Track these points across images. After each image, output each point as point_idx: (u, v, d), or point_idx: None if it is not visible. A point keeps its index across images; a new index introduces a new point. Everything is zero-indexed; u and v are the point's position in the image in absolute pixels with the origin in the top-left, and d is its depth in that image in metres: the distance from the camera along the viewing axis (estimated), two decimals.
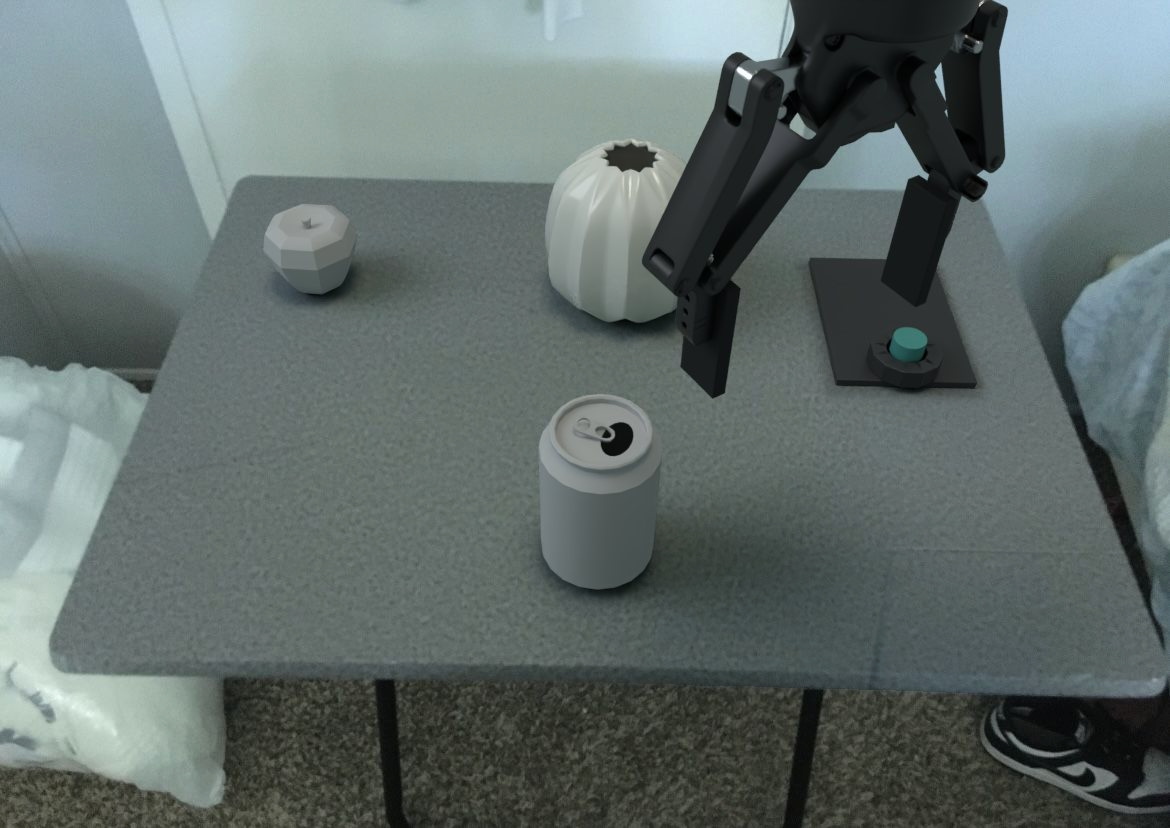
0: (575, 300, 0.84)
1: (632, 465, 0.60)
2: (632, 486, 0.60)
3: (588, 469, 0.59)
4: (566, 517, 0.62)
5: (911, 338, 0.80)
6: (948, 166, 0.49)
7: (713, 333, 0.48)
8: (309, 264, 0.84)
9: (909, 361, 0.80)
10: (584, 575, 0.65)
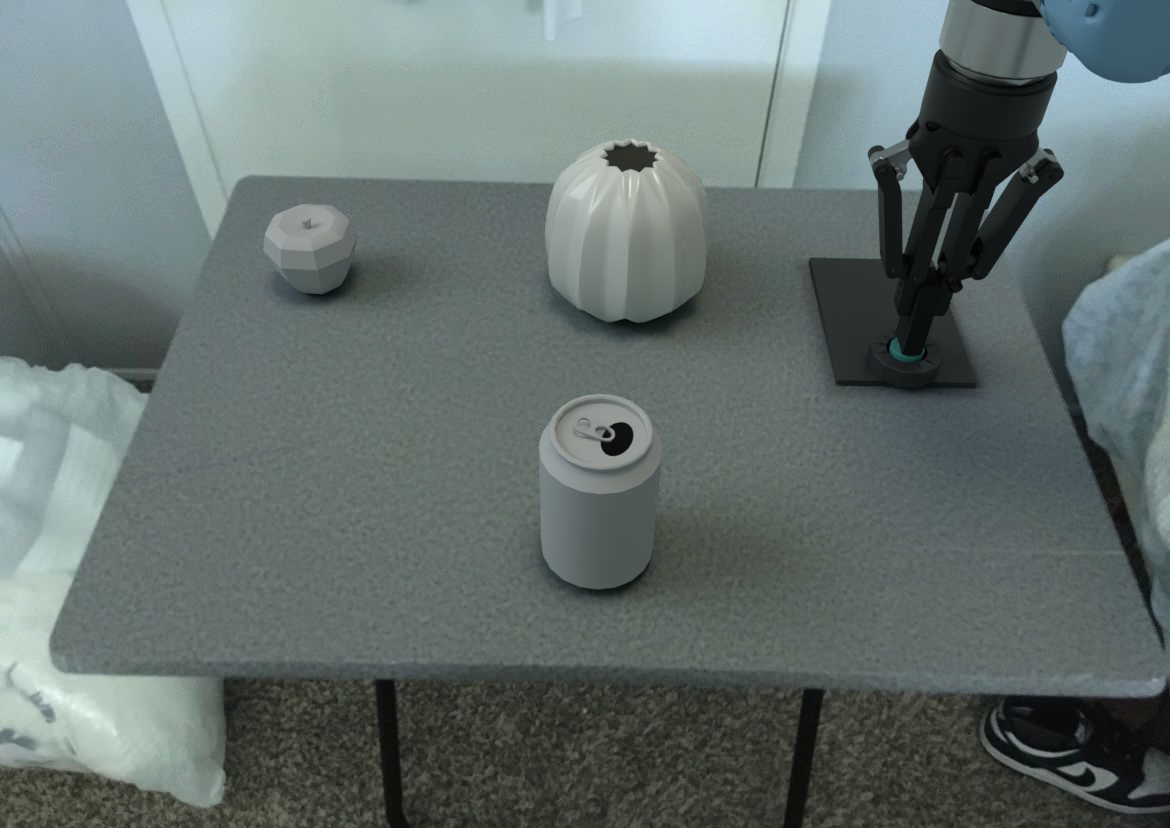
0: (575, 300, 0.84)
1: (632, 465, 0.60)
2: (632, 486, 0.60)
3: (588, 469, 0.59)
4: (566, 517, 0.62)
5: None
6: (955, 253, 0.73)
7: (912, 312, 0.78)
8: (309, 264, 0.84)
9: None
10: (584, 575, 0.65)
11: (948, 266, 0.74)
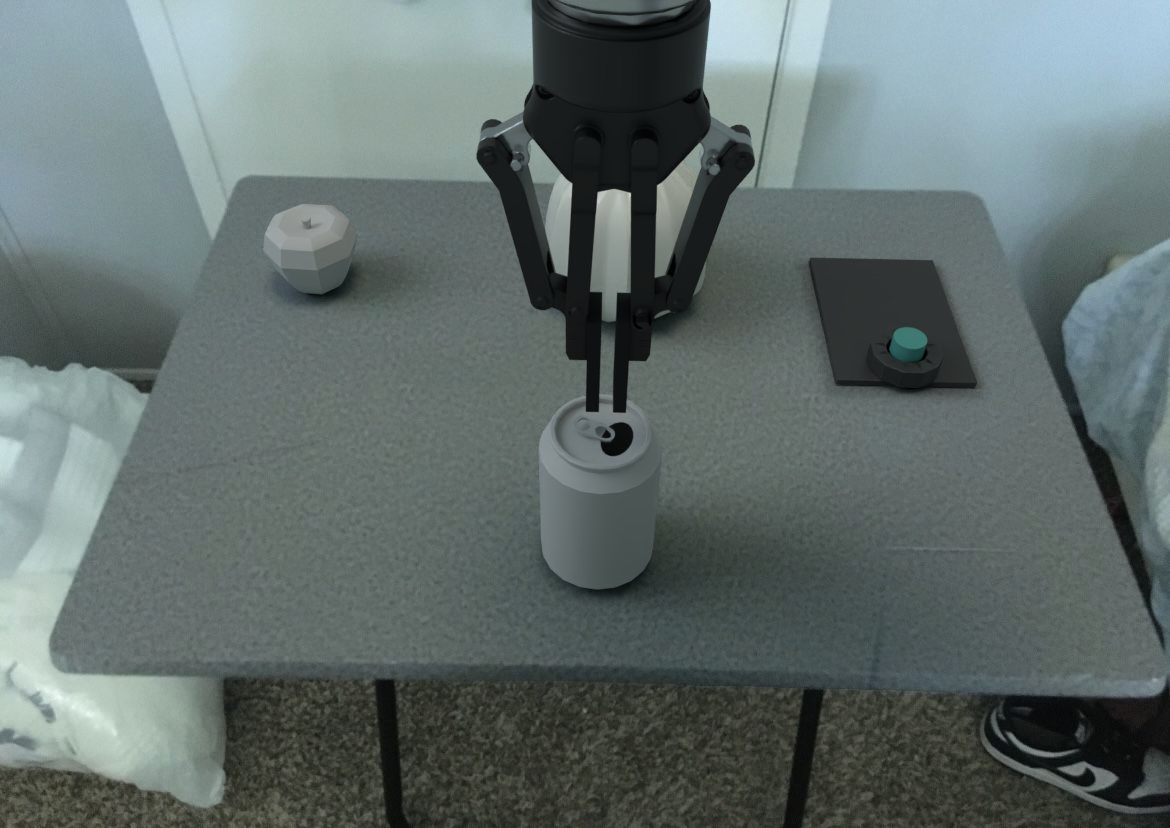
0: None
1: (632, 465, 0.60)
2: (632, 486, 0.60)
3: (588, 469, 0.59)
4: (566, 517, 0.62)
5: (911, 338, 0.80)
6: (634, 276, 0.52)
7: (587, 355, 0.56)
8: (309, 264, 0.84)
9: (909, 361, 0.80)
10: (584, 575, 0.65)
11: (631, 294, 0.53)
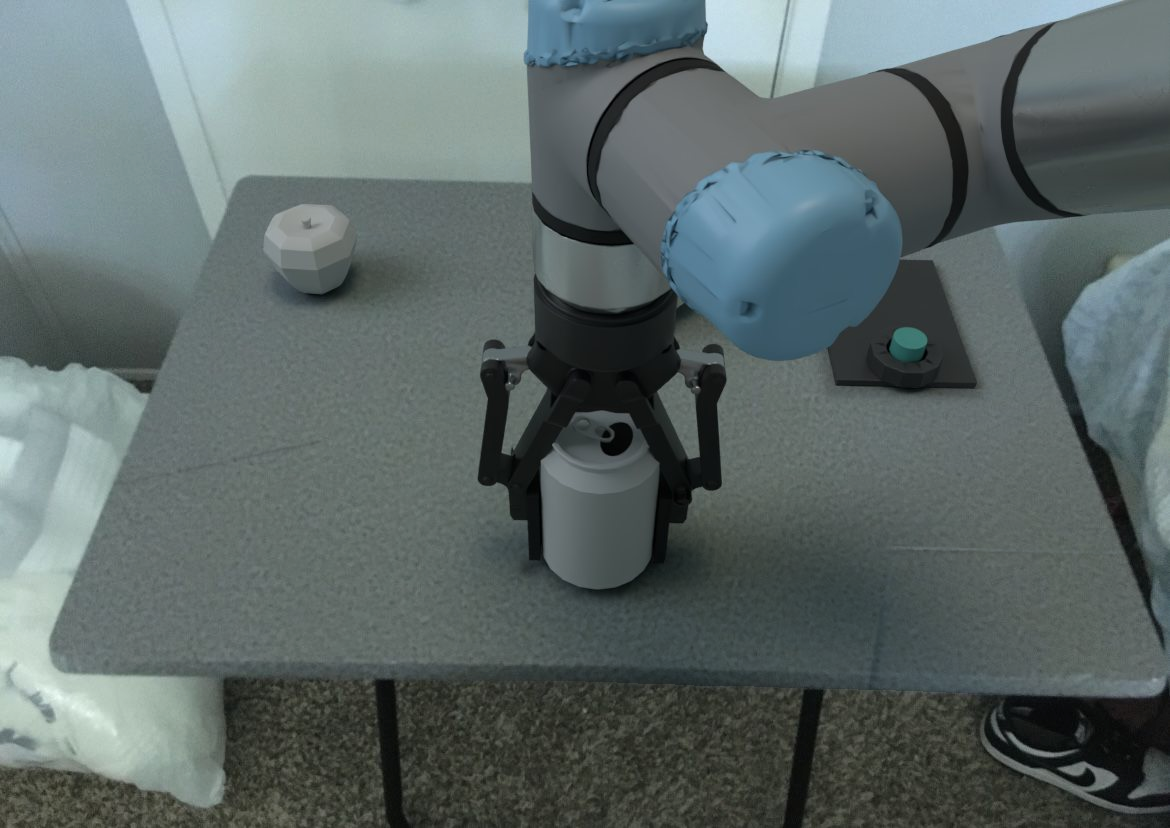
0: None
1: (632, 465, 0.60)
2: (631, 486, 0.60)
3: (588, 469, 0.59)
4: (565, 517, 0.62)
5: (911, 338, 0.80)
6: (662, 467, 0.62)
7: None
8: (309, 264, 0.84)
9: (909, 361, 0.80)
10: (584, 575, 0.65)
11: None
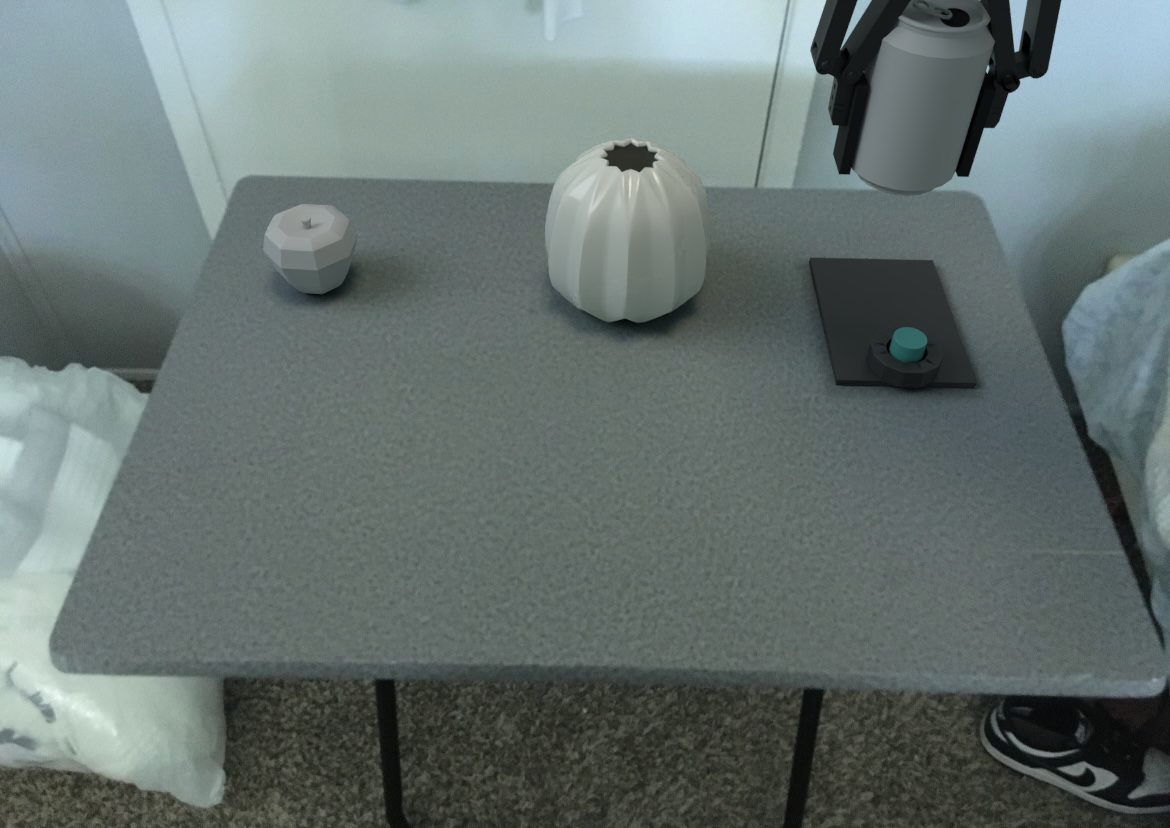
0: (575, 300, 0.84)
1: (976, 33, 0.63)
2: (976, 54, 0.63)
3: (938, 33, 0.63)
4: (902, 97, 0.65)
5: (911, 338, 0.80)
6: (996, 47, 0.65)
7: (848, 121, 0.69)
8: (309, 264, 0.84)
9: (909, 361, 0.80)
10: (904, 173, 0.69)
11: (995, 65, 0.66)
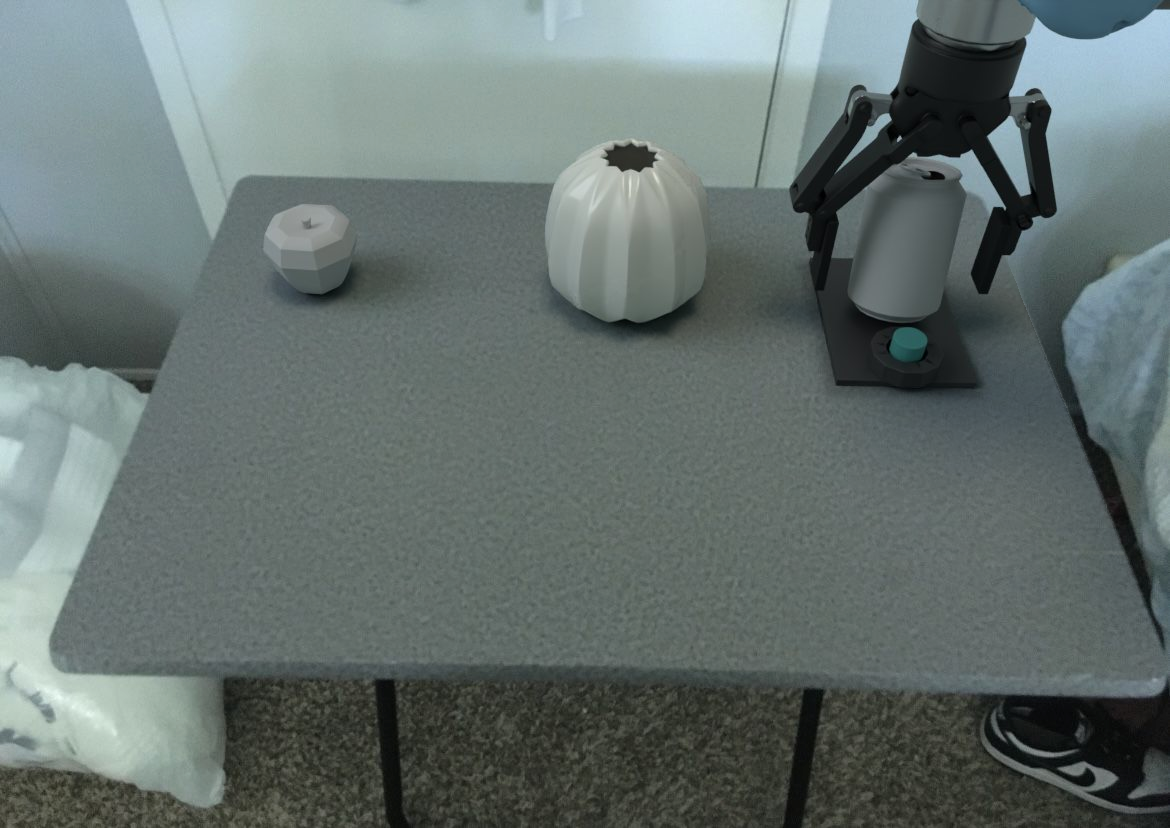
0: (575, 300, 0.84)
1: (951, 186, 0.78)
2: (952, 201, 0.78)
3: (921, 184, 0.77)
4: (894, 236, 0.79)
5: (911, 338, 0.80)
6: (1004, 199, 0.77)
7: (822, 247, 0.81)
8: (309, 264, 0.84)
9: (909, 361, 0.80)
10: (898, 301, 0.82)
11: (1008, 211, 0.78)
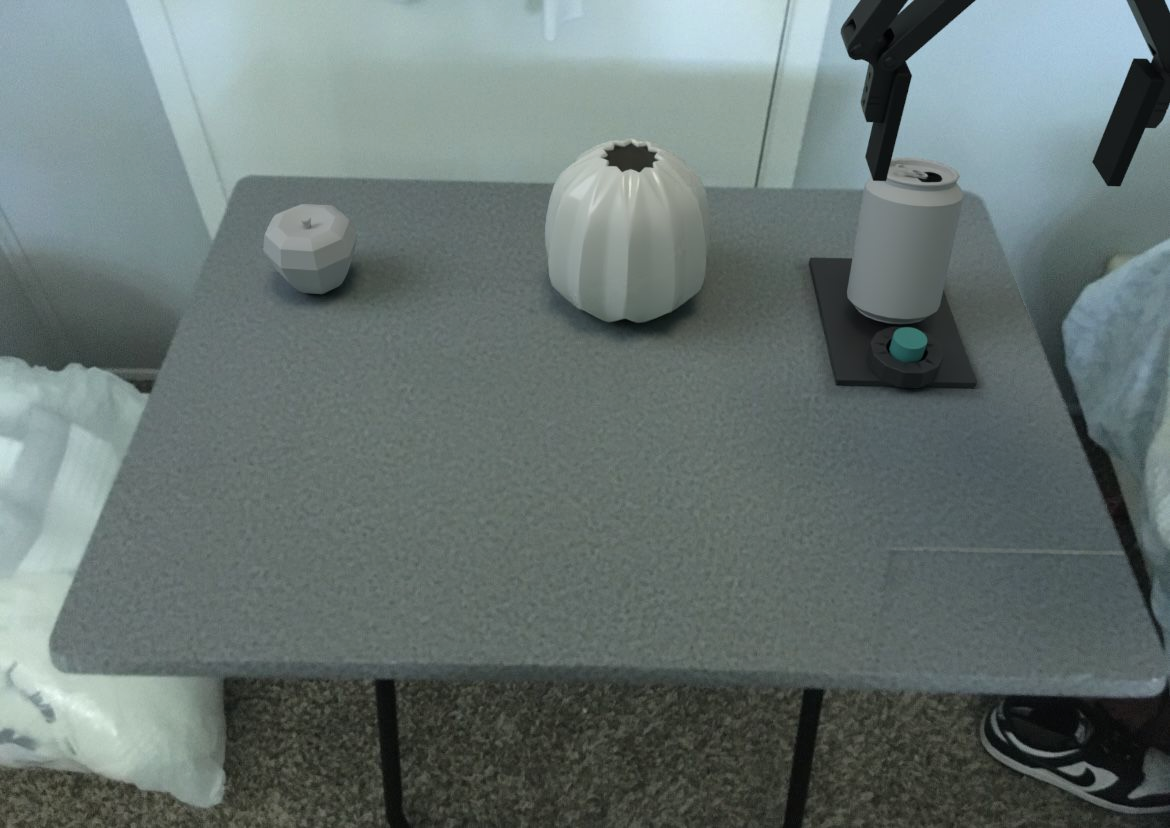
0: (575, 300, 0.84)
1: (948, 188, 0.78)
2: (949, 203, 0.78)
3: (917, 187, 0.77)
4: (891, 239, 0.79)
5: (911, 338, 0.80)
6: (1156, 38, 0.54)
7: (885, 116, 0.58)
8: (309, 264, 0.84)
9: (909, 361, 0.80)
10: (897, 303, 0.82)
11: (1160, 57, 0.55)
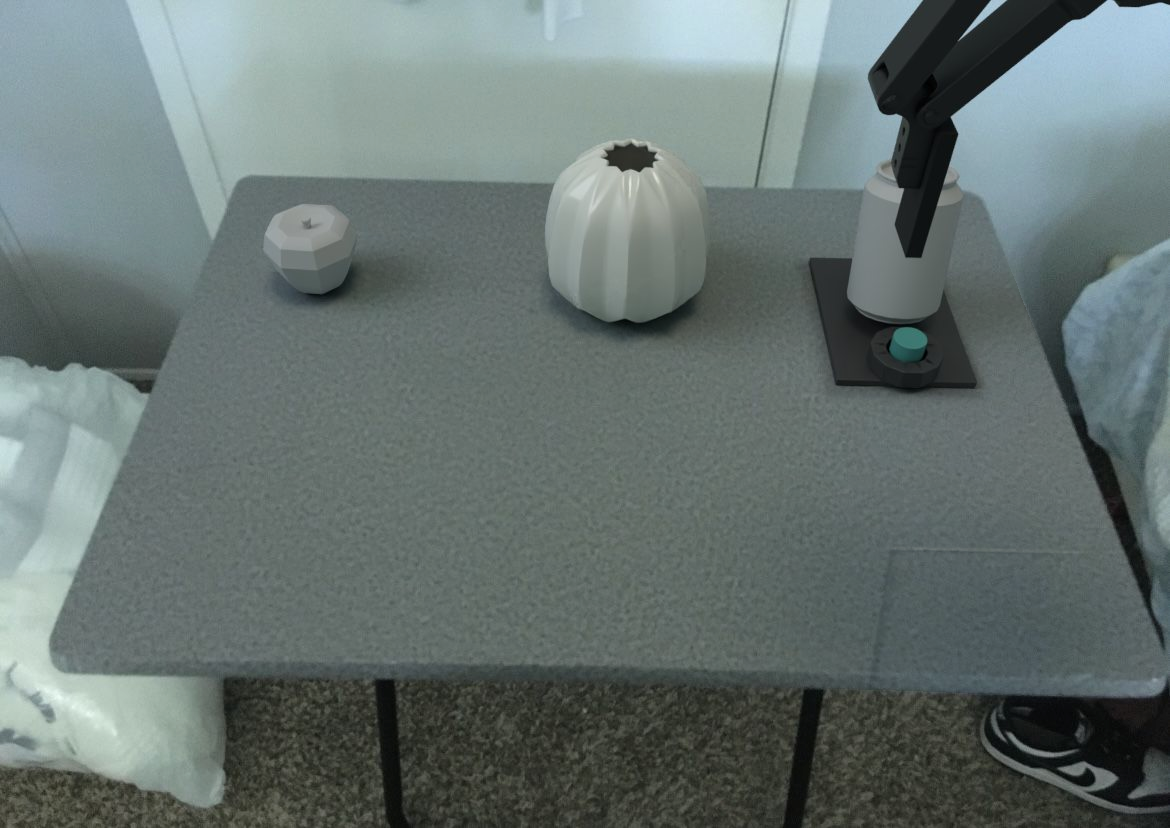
0: (575, 300, 0.84)
1: (948, 188, 0.78)
2: (949, 203, 0.78)
3: None
4: (891, 239, 0.79)
5: (911, 338, 0.80)
6: None
7: (922, 181, 0.46)
8: (309, 264, 0.84)
9: (909, 361, 0.80)
10: (897, 303, 0.82)
11: None
